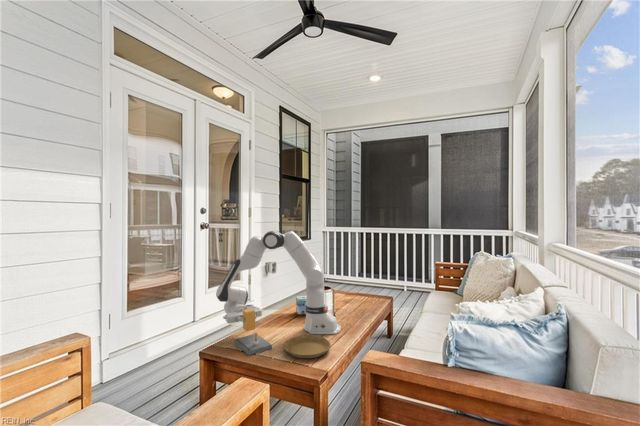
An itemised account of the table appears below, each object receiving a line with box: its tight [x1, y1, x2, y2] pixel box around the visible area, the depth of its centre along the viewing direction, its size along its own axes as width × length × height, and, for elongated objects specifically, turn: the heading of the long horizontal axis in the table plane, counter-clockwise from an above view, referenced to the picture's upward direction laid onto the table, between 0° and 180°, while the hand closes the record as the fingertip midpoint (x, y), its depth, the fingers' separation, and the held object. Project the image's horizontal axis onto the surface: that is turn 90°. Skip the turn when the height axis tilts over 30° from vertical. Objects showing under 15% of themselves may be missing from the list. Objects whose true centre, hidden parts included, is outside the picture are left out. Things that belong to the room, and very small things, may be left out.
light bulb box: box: [295, 295, 306, 315], centre depth 227 cm, size 11×7×11 cm, turn 105°
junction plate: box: [233, 332, 273, 356], centre depth 172 cm, size 19×13×8 cm
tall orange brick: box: [242, 309, 256, 332], centre depth 176 cm, size 5×5×10 cm
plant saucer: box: [283, 335, 331, 359], centre depth 166 cm, size 24×24×3 cm
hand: (249, 319), depth 175 cm, fingers closed on tall orange brick, 5 cm apart
